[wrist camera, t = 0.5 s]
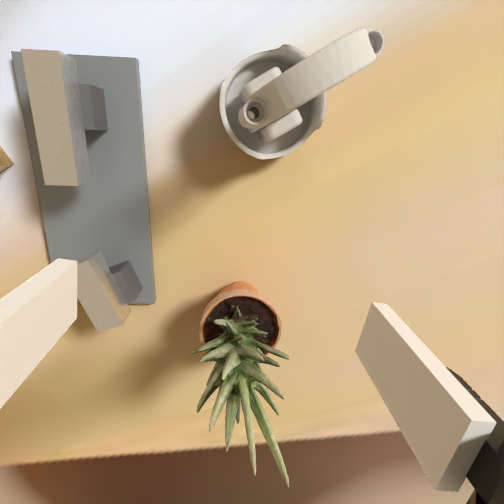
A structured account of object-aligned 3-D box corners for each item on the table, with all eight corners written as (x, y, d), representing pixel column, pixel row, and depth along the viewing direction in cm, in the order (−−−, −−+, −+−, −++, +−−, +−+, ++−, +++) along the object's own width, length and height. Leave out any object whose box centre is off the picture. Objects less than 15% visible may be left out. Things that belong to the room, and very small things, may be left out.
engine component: (204, 89, 35) (248, 172, 38) (171, 32, 16) (266, 209, 19) (293, 34, 34) (332, 125, 37) (377, -100, 15) (441, 113, 18)
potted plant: (283, 317, 45) (338, 509, 22) (220, 340, 46) (209, 550, 23) (258, 255, 42) (291, 404, 19) (190, 281, 42) (141, 456, 19)
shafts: (41, 57, 29) (20, 48, 26) (105, 60, 30) (92, 52, 27) (83, 318, 38) (71, 332, 35) (131, 318, 39) (124, 332, 36)
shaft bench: (17, 53, 33) (-15, 41, 29) (138, 60, 34) (125, 49, 29) (62, 299, 42) (43, 318, 38) (155, 299, 43) (147, 317, 39)
